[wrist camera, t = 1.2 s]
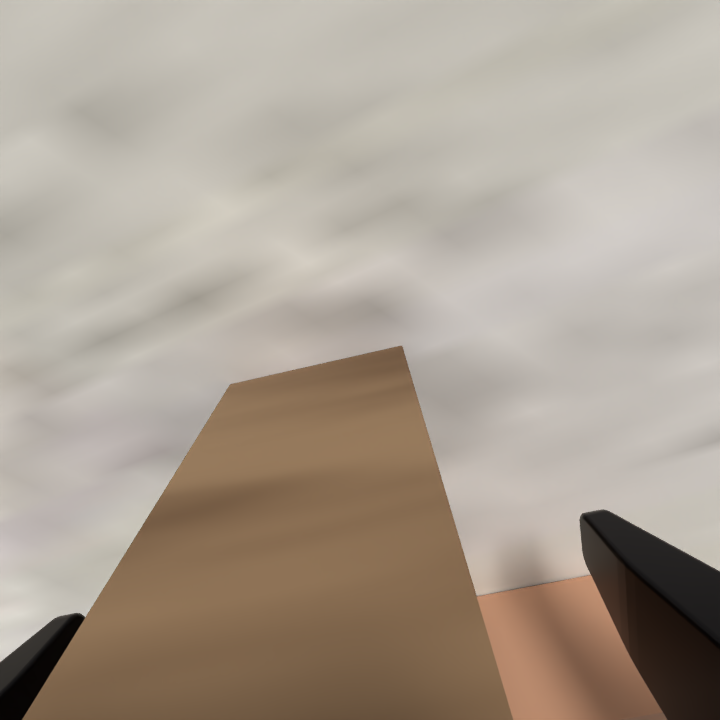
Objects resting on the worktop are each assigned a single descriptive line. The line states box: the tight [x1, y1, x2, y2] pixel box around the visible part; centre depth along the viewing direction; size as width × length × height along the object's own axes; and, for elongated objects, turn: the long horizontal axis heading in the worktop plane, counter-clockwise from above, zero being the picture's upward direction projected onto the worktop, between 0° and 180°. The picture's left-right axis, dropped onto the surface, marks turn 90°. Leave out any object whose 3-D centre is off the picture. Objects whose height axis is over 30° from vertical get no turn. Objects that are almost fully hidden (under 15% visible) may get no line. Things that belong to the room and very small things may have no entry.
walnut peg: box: [22, 346, 513, 720], centre depth 8 cm, size 4×4×10 cm
